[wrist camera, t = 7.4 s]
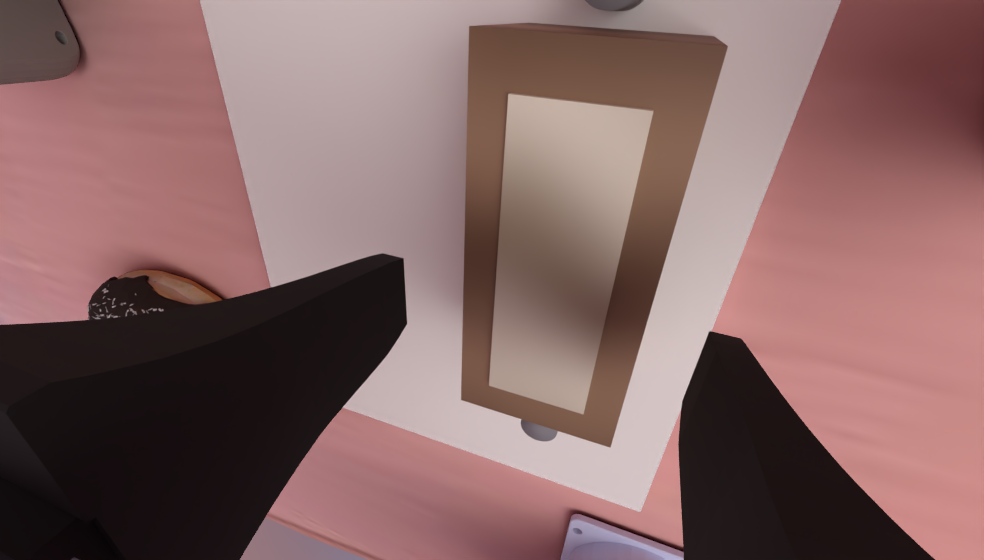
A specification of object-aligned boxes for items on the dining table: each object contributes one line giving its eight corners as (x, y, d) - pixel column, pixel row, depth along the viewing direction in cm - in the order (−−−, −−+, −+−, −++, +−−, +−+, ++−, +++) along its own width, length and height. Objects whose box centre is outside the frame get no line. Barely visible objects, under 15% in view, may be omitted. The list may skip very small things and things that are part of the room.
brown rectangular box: (625, 357, 17) (609, 451, 14) (503, 325, 19) (459, 403, 15) (713, 36, 12) (728, 46, 8) (528, 22, 13) (466, 25, 9)
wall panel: (641, 494, 22) (634, 575, 19) (307, 380, 28) (258, 429, 24) (852, -59, 11) (926, -91, 7) (206, -71, 16) (86, -93, 13)
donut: (107, 260, 29) (36, 290, 26) (234, 259, 25) (167, 296, 22) (187, 389, 34) (136, 428, 31) (305, 409, 30) (260, 457, 27)
